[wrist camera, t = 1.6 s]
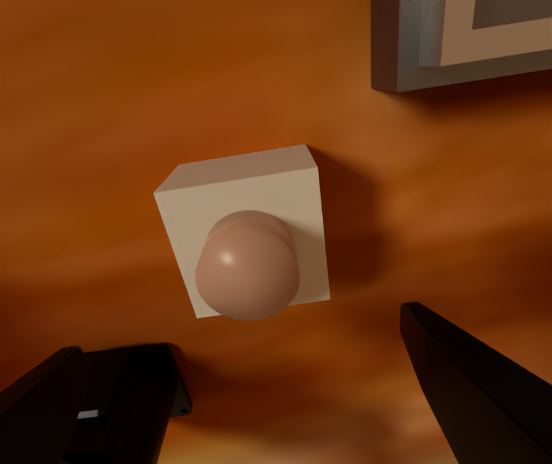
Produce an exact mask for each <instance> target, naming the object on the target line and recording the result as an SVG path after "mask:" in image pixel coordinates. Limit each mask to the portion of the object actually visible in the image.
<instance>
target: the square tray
mask: <svg viewBox="0 0 552 464" xmlns="http://www.w3.org/2000/svg"><path fill="white" fill-rule="evenodd" d="M547 69H552V0H371V88H373V89H379V90H385V91H391V92H396V93H398V92H404V91H411V90H417V89H424V88H430V87H437V86H443V85H450V84H456V83H463V82H469V81H476V80H482V79H489V78H495V77H502V76H508V75H515V74H521V73H528V72H534V71H541V70H547Z"/></svg>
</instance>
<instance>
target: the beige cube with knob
mask: <svg viewBox="0 0 552 464" xmlns="http://www.w3.org/2000/svg"><path fill="white" fill-rule="evenodd" d="M154 196H155V199H156V202H157V205H158V208H159V211H160V214H161V216H162V219H163V222H164V225H165V228H166V231H167V234H168V236H169V239H170V242H171V245H172V248H173V251H174V254H175V257H176V259H177V262H178V265H179V268H180V271H181V274H182V277H183V280H184V282H185V285H186V288H187V291H188V294H189V297H190V300H191V302H192V305H193V308H194V311H195V314H196V317H197V318H202V317H209V316H216V315H224V316H226V317H229V318H232V319H236V320H244V321H253V320H260V319H265V318H268V317H271V316H273V315H275V314H277V313H279V312H281V311H282V310H283V309H285V308H286V307H287V306H288V305H295V304H302V303H309V302H317V301H324V300H330V291H329V281H328V270H327V260H326V249H325V238H324V228H323V217H322V207H321V196H320V186H319V175H318V167H317V165H316V163H315V161H314V159H313V157H312V155H311V154H310V152H309V150H308V148H307V146H306V144H305V145H299V146H292V147H286V148H280V149H274V150H268V151H261V152H255V153H249V154H243V155H237V156H230V157H224V158H218V159H212V160H205V161H199V162H193V163H187V164H181V165H178V167H177V168H176V169H175V170H174V171H173V172H172V173H171V174H170V175H169V176H168V178H167V179H166V180H165V181H164V182H163V183H162V184H161V185H160V186H159V187H158V189H157V190H156V191H155V192H154Z"/></svg>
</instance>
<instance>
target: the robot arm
mask: <svg viewBox="0 0 552 464" xmlns="http://www.w3.org/2000/svg"><path fill="white" fill-rule="evenodd" d="M400 331H401V335H402V338H403V340H404V343H405V346H406V349H407V351H408V354H409V357H410V359H411V362H412V365H413V368H414V370H415V373H416V376H417V378H418V381H419V383H420V386H421V388H422V391H423V393H424V395H425V397H426V399H427V401H428V403H429V405H430V407H431V409H432V411H433V413H434V415H435V417H436V419H437V421H438V423H439V425H440V427H441V429H442V431H443V433H444V435H445V437H446V439H447V441H448V443H449V445H450V447H451V449H452V451H453V453H454V455H455V457H456V459H457V461H458V463H459V464H552V385H551V384H549V383H547V382H546V381H544V380H543V379H541V378H539V377H538V376H536V375H535V374H533V373H531V372H530V371H528V370H527V369H525V368H523V367H522V366H520V365H519V364H517V363H515V362H514V361H512V360H511V359H509V358H507V357H506V356H504V355H503V354H501V353H499V352H498V351H496V350H495V349H493V348H491V347H490V346H488V345H487V344H485V343H483V342H482V341H480V340H478V339H477V338H475V337H474V336H472V335H470V334H469V333H467V332H466V331H464V330H462V329H461V328H459V327H458V326H456V325H454V324H453V323H451V322H450V321H448V320H446V319H445V318H443V317H442V316H440V315H438V314H437V313H435V312H434V311H432V310H430V309H429V308H427V307H426V306H424V305H422V304H421V303H419V302H407V303H403V304H402V305H401V310H400ZM161 352H162V353H161ZM192 407H193V404H192V402H191V400H190V397H189V395H188V392H187V390H186V387H185V385H184V382H183V380H182V377H181V375H180V373H179V370H178V368H177V365H176V363H175V360H174V358H173V355H172V353H171V350H170V348H169V347H168V346H167V345H164V344H157V345H149V346H141V347H133V348H125V349H117V350H109V351H101V352H94V353H86V354H84V352H83V350H82V349H81V348H80V347H79V346H70V347H64V348H61V349H60V350H58V351H57V352H56V353H54V354H53V355H51V356H50V357H49V358H47V359H46V360H45V361H43V362H42V363H40V364H39V365H38V366H36V367H35V368H33V369H32V370H31V371H29V372H28V373H27V374H25V375H24V376H22V377H21V378H20V379H18V380H17V381H16V382H14V383H13V384H11V385H10V386H9V387H7V388H6V389H4V390H3V391H2V392H0V464H157V462H158V458H159V455H160V451H161V447H162V444H163V440H164V437H165V433H166V429H167V426H168V422H169V419H170V417H176V416H184V415H189V414H190V413H191V412H192Z"/></svg>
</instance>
